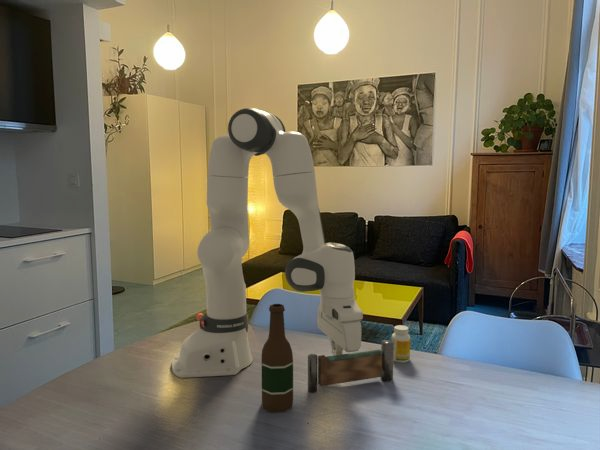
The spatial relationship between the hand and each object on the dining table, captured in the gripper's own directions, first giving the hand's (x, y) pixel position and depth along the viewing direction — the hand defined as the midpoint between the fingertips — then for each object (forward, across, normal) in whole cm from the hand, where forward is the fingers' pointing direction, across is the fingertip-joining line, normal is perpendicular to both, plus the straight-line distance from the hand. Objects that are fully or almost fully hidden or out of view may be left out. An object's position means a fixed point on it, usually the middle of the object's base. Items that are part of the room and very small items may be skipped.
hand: (337, 355), depth 121 cm
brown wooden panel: (+4, +6, +1) cm, 7 cm away
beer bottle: (+6, +9, -19) cm, 22 cm away
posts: (+6, +6, +1) cm, 8 cm away
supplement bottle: (+6, -4, +22) cm, 23 cm away
